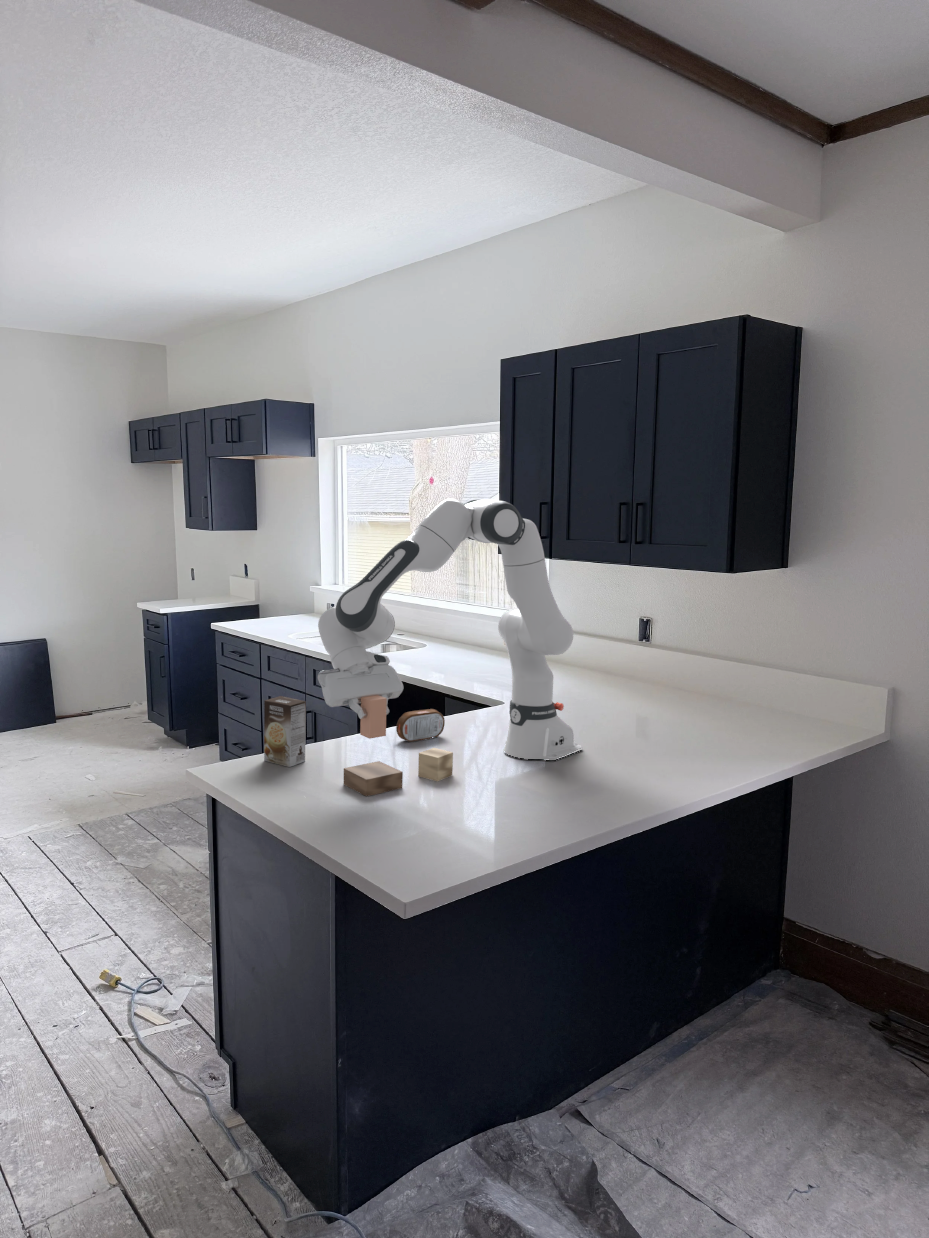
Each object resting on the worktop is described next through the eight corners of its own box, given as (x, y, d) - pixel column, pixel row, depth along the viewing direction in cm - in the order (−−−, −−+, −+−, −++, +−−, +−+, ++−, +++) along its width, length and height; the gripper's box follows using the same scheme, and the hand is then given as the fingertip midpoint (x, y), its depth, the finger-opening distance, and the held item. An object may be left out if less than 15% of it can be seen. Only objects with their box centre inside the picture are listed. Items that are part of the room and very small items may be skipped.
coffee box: (262, 761, 218) (262, 699, 215) (280, 755, 223) (279, 695, 221) (289, 767, 213) (289, 705, 211) (306, 761, 218) (307, 700, 216)
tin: (440, 734, 247) (440, 706, 246) (446, 737, 244) (446, 708, 243) (395, 741, 238) (395, 712, 237) (401, 744, 236) (401, 715, 235)
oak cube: (433, 770, 214) (433, 747, 213) (452, 775, 210) (453, 752, 210) (418, 776, 209) (418, 752, 208) (437, 781, 206) (438, 757, 205)
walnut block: (378, 776, 208) (379, 761, 207) (402, 788, 200) (402, 771, 199) (343, 784, 201) (343, 768, 201) (366, 796, 194) (366, 779, 193)
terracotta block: (376, 731, 202) (377, 694, 201) (385, 735, 199) (386, 698, 198) (360, 734, 199) (360, 697, 198) (369, 738, 196) (370, 700, 195)
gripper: (319, 663, 195) (341, 714, 189) (393, 655, 208) (415, 702, 202) (310, 679, 200) (331, 728, 193) (383, 670, 212) (404, 717, 206)
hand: (375, 715), depth 198 cm, fingers closed on terracotta block, 4 cm apart
